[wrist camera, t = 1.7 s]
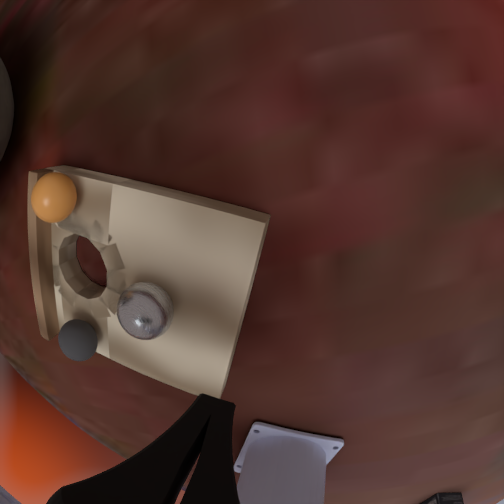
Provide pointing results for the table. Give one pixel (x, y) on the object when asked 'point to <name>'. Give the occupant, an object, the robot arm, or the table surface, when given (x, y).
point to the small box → (445, 499)
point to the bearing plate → (150, 273)
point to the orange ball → (53, 197)
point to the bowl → (5, 108)
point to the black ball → (78, 340)
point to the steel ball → (145, 310)
